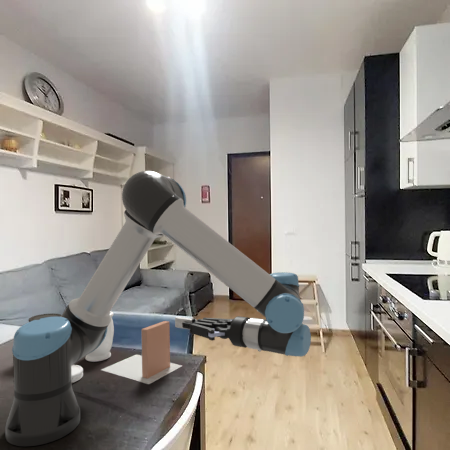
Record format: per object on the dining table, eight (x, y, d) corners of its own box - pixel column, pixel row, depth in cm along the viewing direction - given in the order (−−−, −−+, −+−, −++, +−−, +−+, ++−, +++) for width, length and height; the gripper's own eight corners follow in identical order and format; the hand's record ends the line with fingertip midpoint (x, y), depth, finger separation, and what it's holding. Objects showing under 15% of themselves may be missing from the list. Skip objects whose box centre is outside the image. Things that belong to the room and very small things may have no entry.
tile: (170, 366, 113) (169, 321, 113) (147, 378, 105) (146, 330, 105) (164, 365, 115) (163, 320, 114) (141, 376, 106) (140, 328, 106)
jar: (93, 351, 131) (92, 309, 131) (119, 352, 129) (119, 310, 129) (75, 362, 121) (74, 317, 120) (103, 364, 118) (103, 318, 118)
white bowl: (75, 372, 113) (74, 361, 113) (89, 382, 106) (88, 370, 106) (40, 383, 106) (40, 370, 106) (53, 394, 99) (52, 381, 99)
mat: (182, 368, 114) (182, 365, 114) (149, 387, 101) (149, 384, 101) (136, 357, 124) (136, 354, 124) (100, 373, 112) (100, 369, 112)
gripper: (236, 355, 88) (162, 341, 100) (260, 339, 99) (190, 328, 111) (235, 324, 88) (161, 314, 100) (259, 312, 99) (190, 304, 111)
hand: (176, 321), depth 105 cm, fingers closed
